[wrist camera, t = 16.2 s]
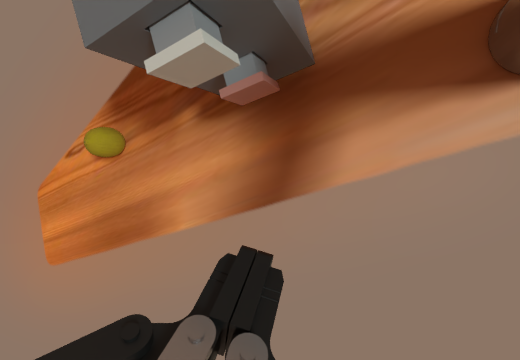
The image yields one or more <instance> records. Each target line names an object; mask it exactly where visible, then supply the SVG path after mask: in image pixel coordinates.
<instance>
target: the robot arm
mask: <svg viewBox="0 0 520 360" xmlns="http://www.w3.org/2000/svg"><path fill="white" fill-rule="evenodd" d="M489 48H490V51H491V54H492V56H493V57H494V59H495V60H496V62H497V63H498V64H500V65H501V66H502V67H503V68H505V69H507V70H509V71H511V72H513V73H517V74H520V0H509V1H508V2H507V4H506V5H505V6H504V7H503V8H502V9H501V11H500V12H499V13H498V15H497V16H496V18H495V19H494V22H493V24H492V26H491V28H490V33H489ZM272 260H273V255H272V254H269V253H265V252H262V251H258V252H257V250H256V249H253V248H250V247H247V246H243V245H242V247H241V248H240V251H239V253H238V255H237V256H236V255H232V254H229V253H228V254H226V255H225V256H224V257H222V258H221V259H220V260H219V261H218V263H217V265H216V267H215V269H214V271H213V273H212V275H211V276H210V279H209V280H208V282H207V284H206V286H205V288H204V289H203V291H202V293H201V295H200V297H199V299H198V301H197V302H196V304H195V306H194V308H193V310H192V311H191V313H190V314H189V315H188V316H187V317H185V318H184V319H182V320H180V321H177V322H174V323H151V322H150V320H149V319H148V318H147V317H146V316H143V315H139V314H135V315H130V316H127V317H125V318H122V319H120V320H118V321H116V322H114V323H112V324H110V325H107V326H105V327H104V328H101V329H99V330H97V331H95V332H93V333H90V334H88V335H87V336H84V337H82V338H80V339H78V340H76V341H73V342H71V343H69V344H67V345H65V346H63V347H61V348H59V349H56V350H55V351H52V352H50V353H48V354H46V355H44V356H42V357H39V358H37V359H35V360H215V359H216V356H217V354H220V355H222V356H223V355H224V352H225V350H226V353H225V360H275V358H274V357H273V355H272V352H271V349H270V337H271V332H272V328H273V324H274V320H275V316H276V311H277V308H278V303H279V299H280V295H281V290H282V286H283V282H284V281H283V276H282V271H281V270H279V269H275V268H272V267H271V263H272Z"/></svg>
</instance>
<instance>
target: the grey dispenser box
mask: <svg viewBox="0 0 520 360" xmlns="http://www.w3.org/2000/svg"><path fill="white" fill-rule="evenodd" d="M187 1H188V0H72V2H73V6H74V9H75V13H76V17H77V21H78V24H79V28H80V32H81V35H82V39H83V43H84V46H85V48H87V49H90V50H93V51H95V52H98V53H101V54H104V55H107V56H110V57H112V58H115V59H118V60H121V61H124V62H127V63H129V64H132V65H135V66H138V67H141V68H144V69H146V68H145V64H144V61H145V60H147V59H149V58H150V57H152V56H154V55H155V54H156V51H155V47H154V43H153V40H152V36H151V32H150V29H149V26H150V25H151V24H153V23H154V22H156V21H157V20H159V19H161V18H162V17H164V16H165V15H167V14H168V13H170V12H171V11H173V10H174V9H176V8H177V7H179V6H181V5H182V4H184V3H185V2H187ZM191 1H193V2H194V3H195V4H196V5H197V6H199V7H200V8H201V9H202V10H204V11H205V12H206V13H207V14H208V15H210V16H211V17H212V18H213V19H215V20H216V21H217V23H218V27H219V31H220V35H221V38H222V42H223V44H224V45H225V46H227V47H228V48H229V49H231V50H232V51H234V52H235V53H237V54H238V58H240V57H242V56H244V55H246V54H248V53H250V52H252V51H254V52H255V53H256V54H257V55H259V56H260V57H261V58H262V59H263V60H264V61H265V65H266V69H267V72H268V76H269V77H271V78H272V79H274V80H278V79H280V78H282V77H285V76H287V75H289V74H292V73H294V72H296V71H299V70H301V69H304V68H306V67H308V66H311V65H313V64H315V61H314V57H313V53H312V50H311V46H310V42H309V39H308V35H307V31H306V27H305V24H304V20H303V16H302V12H301V9H300V5H299V1H298V0H191ZM196 87H198V88H201V89H204V90H206V91H209V92H212V93H215V94H218V95H220V93H219V90H220V89H222V88H224V87H227V85H226V82H225V78H224V74H221V75H219V76H216V77H214V78H212V79H210V80H208V81H206V82H204V83H202V84H200V85H198V86H196Z"/></svg>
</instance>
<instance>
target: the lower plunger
mask: <svg viewBox="0 0 520 360" xmlns="http://www.w3.org/2000/svg"><path fill="white" fill-rule="evenodd" d="M239 62H240V66H237V67H235V68H233V69H231V70H229V71H227V72H225V73H223V74H224V78H225V82H226V85H227V87H224V88H222V89H220V90H219V93H220V96H221V99H224V100H227V101H230V102H233V103H236V104H239V105H245V104H247V103H250V102H252V101H255V100H257V99H260V98H262V97H265V96H267V95H270V94H272V93H275V92H277V91H279V90H280V88H279V85H278V82H276V81H275V80H274V79H272V78H271V77H269V76H268V72H267V69H266V65H265V61H264V60H263V59H262V58H261V57H260V56H259V55H257V54H256V53H255V52H254V51H252V52H250V53H248V54H246V55H244V56H242V57H240V58H239Z"/></svg>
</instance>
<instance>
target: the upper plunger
mask: <svg viewBox="0 0 520 360" xmlns="http://www.w3.org/2000/svg"><path fill="white" fill-rule="evenodd" d="M149 29H150V32H151V36H152V40H153V43H154V47H155V51H156V54H155V55H154V56H152V57H150V58H149V59H147V60H145V61H144V64H145V68H146V71H147V74H149V75H152V76H155V77H158V78H161V79H164V80H167V81H170V82H173V83H176V84H179V85H182V86H185V87H188V88H193V87H196V86H198V85H200V84H202V83H204V82H206V81H208V80H210V79H212V78H214V77H216V76H219V75H221V74H223V73H225V72H227V71H229V70H231V69H233V68H235V67H237V66H240V62H239V58H238V54H237V53H235V52H234V51H232V50H231V49H229V48H228V47H227V46H225V45H224V44H223V42H222V38H221V35H220V31H219V27H218V23H217V21H216V20H215V19H213V18H212V17H211V16H210V15H208V14H207V13H206V12H205V11H204V10H202V9H201V8H200V7H199V6H197V5H196V4H195V3H194V2H193V1H191V0H188V1H187V2H185V3H184V4H182V5H181V6H179V7H177V8H176V9H174V10H173V11H171V12H170V13H168V14H167V15H165V16H164V17H162V18H161V19H159V20H157V21H156V22H154V23H153V24H151V25H150V26H149Z"/></svg>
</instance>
